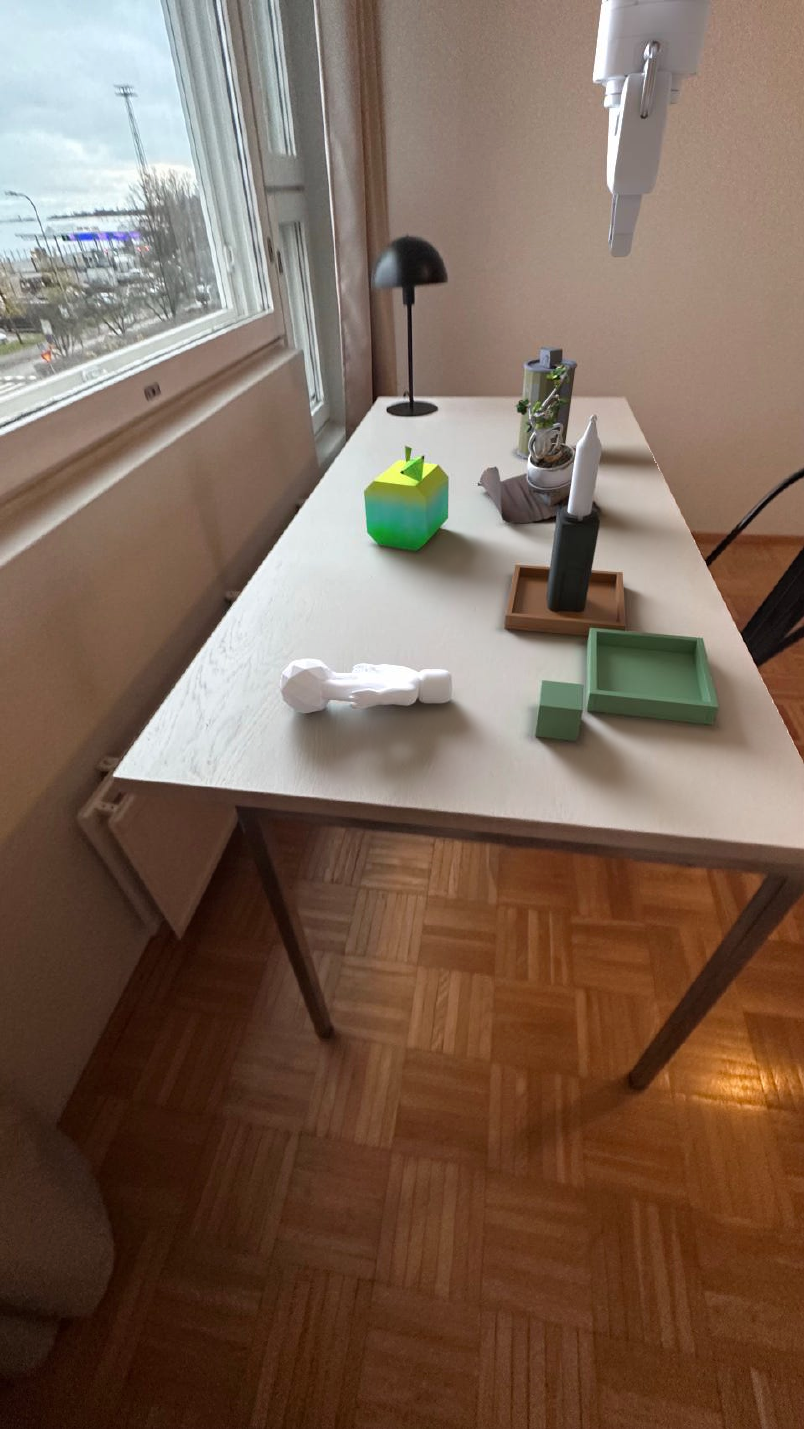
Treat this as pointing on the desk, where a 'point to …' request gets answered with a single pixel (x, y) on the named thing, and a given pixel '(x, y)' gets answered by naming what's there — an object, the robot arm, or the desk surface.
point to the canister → (545, 392)
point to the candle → (576, 530)
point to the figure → (361, 686)
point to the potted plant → (537, 466)
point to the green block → (559, 710)
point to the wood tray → (534, 615)
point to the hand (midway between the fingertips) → (617, 251)
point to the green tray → (649, 676)
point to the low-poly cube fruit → (407, 503)
